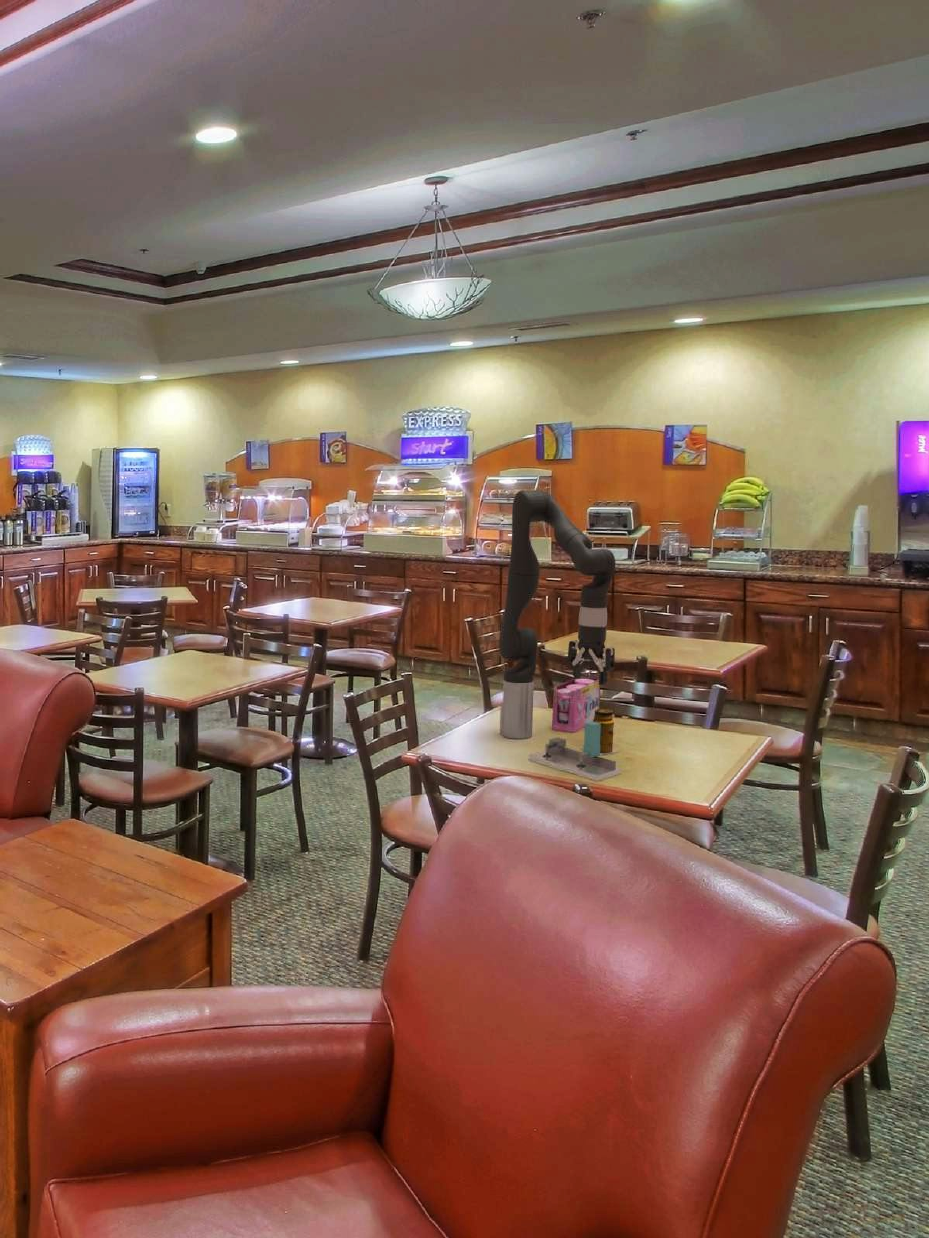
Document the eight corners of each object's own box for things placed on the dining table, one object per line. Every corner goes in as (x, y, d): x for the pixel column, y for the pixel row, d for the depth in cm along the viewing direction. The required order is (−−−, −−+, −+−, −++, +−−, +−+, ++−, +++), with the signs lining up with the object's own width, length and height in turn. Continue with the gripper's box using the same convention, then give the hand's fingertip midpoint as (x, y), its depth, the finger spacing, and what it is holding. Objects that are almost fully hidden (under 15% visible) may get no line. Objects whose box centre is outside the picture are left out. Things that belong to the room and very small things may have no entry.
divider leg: (575, 763, 239) (577, 725, 237) (590, 759, 243) (592, 721, 242) (584, 766, 237) (585, 727, 235) (599, 761, 241) (601, 723, 240)
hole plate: (528, 760, 248) (529, 741, 247) (552, 753, 254) (552, 735, 254) (597, 781, 231) (598, 760, 230) (620, 773, 237) (621, 753, 237)
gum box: (572, 734, 276) (574, 691, 274) (549, 730, 280) (550, 688, 278) (599, 718, 297) (600, 678, 295) (577, 714, 301) (578, 675, 299)
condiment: (618, 752, 258) (620, 711, 256) (596, 756, 253) (598, 715, 252) (601, 745, 264) (603, 706, 262) (580, 749, 259) (581, 709, 258)
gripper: (563, 620, 241) (560, 678, 244) (605, 628, 231) (602, 688, 234) (580, 618, 246) (577, 675, 249) (622, 625, 236) (619, 684, 239)
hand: (589, 681), depth 241 cm, fingers open, 8 cm apart
